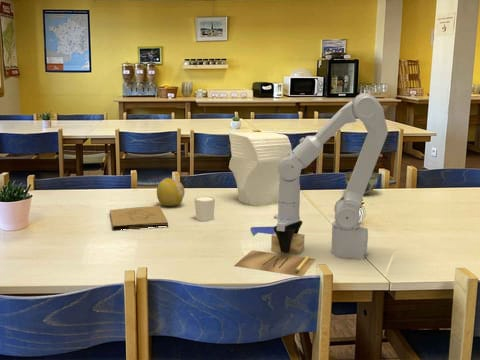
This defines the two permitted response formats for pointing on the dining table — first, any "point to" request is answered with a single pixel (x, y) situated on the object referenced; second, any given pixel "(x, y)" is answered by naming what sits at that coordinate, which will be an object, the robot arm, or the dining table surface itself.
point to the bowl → (371, 183)
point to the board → (274, 262)
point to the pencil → (302, 264)
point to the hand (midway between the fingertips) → (287, 249)
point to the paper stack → (258, 165)
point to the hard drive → (262, 230)
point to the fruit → (170, 192)
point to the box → (137, 218)
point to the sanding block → (296, 244)
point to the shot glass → (204, 208)
